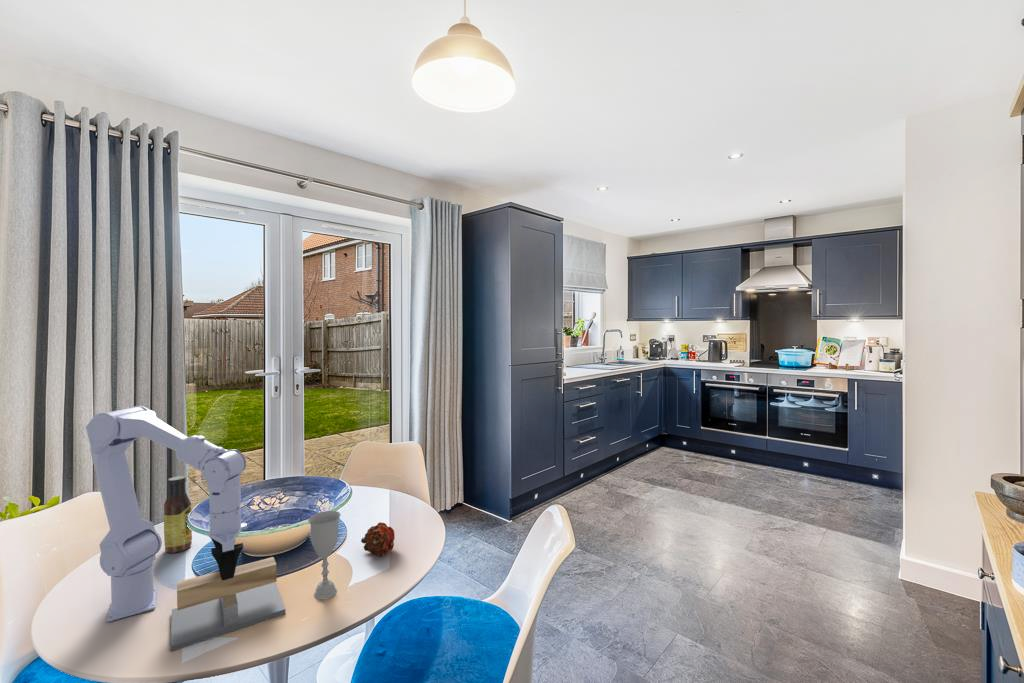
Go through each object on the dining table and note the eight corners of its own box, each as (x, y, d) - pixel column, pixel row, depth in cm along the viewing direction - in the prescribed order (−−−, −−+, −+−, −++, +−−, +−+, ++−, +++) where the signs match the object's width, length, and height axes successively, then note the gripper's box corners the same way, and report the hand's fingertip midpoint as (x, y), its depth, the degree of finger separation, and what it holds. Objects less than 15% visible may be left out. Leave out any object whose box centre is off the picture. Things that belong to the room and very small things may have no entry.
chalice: (325, 605, 103) (324, 525, 102) (301, 598, 105) (301, 521, 104) (347, 587, 110) (347, 513, 109) (325, 581, 112) (324, 509, 111)
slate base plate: (171, 613, 99) (171, 609, 99) (274, 583, 111) (274, 579, 111) (170, 651, 88) (170, 646, 88) (285, 613, 100) (285, 608, 100)
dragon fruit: (380, 569, 120) (374, 555, 131) (405, 545, 124) (397, 533, 135) (359, 546, 119) (355, 534, 130) (385, 522, 122) (379, 511, 133)
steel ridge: (220, 596, 104) (219, 579, 104) (232, 593, 105) (232, 576, 105) (224, 627, 93) (224, 608, 93) (238, 623, 95) (237, 604, 95)
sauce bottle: (192, 550, 127) (190, 479, 127) (163, 556, 124) (162, 483, 123) (192, 541, 133) (190, 473, 132) (165, 546, 129) (163, 477, 128)
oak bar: (177, 600, 96) (177, 582, 96) (273, 573, 106) (273, 556, 106) (177, 610, 92) (176, 591, 92) (276, 581, 103) (276, 564, 103)
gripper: (250, 515, 95) (251, 579, 96) (243, 494, 107) (244, 551, 108) (210, 524, 91) (211, 590, 92) (207, 501, 103) (208, 560, 104)
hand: (226, 570), depth 100 cm, fingers open, 7 cm apart
